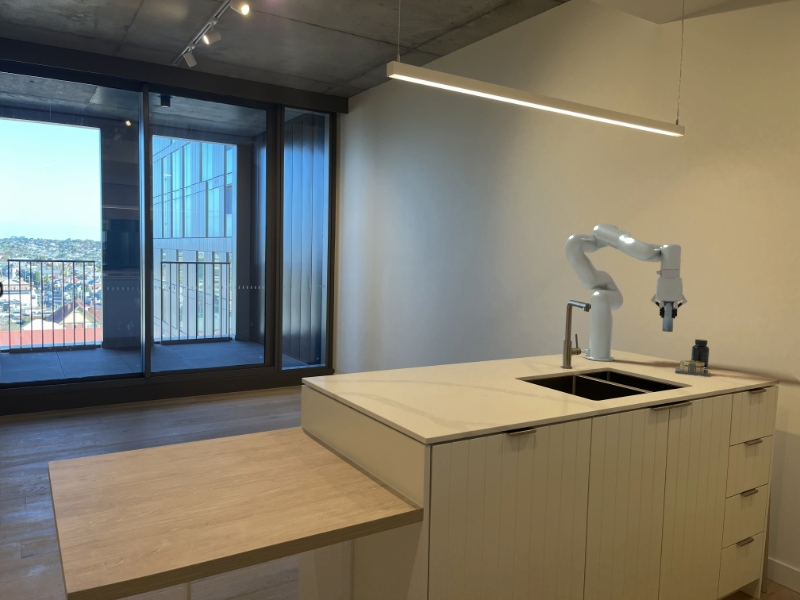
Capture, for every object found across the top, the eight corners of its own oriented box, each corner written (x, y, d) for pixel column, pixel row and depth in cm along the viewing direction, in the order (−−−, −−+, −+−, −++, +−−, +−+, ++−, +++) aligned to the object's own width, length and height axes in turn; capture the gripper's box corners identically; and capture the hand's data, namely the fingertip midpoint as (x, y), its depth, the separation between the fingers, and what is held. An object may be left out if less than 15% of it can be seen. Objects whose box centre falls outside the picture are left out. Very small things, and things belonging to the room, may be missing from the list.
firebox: (675, 373, 247) (675, 362, 247) (675, 369, 258) (676, 358, 257) (708, 376, 242) (709, 365, 241) (707, 372, 252) (708, 361, 252)
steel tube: (661, 331, 254) (663, 297, 254) (662, 330, 258) (663, 297, 257) (672, 332, 252) (674, 298, 252) (673, 331, 256) (674, 297, 255)
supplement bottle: (687, 366, 268) (688, 338, 267) (698, 365, 271) (699, 338, 270) (700, 368, 262) (702, 340, 261) (711, 368, 265) (713, 340, 264)
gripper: (647, 273, 254) (645, 317, 255) (692, 274, 247) (690, 319, 248) (649, 273, 261) (647, 316, 262) (692, 274, 254) (690, 318, 255)
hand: (668, 317), depth 255 cm, fingers closed on steel tube, 4 cm apart
